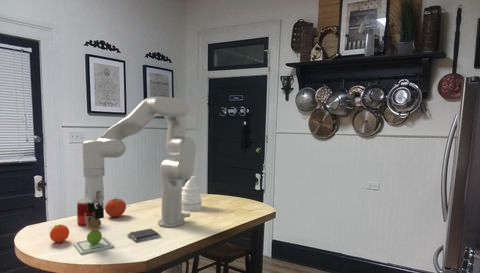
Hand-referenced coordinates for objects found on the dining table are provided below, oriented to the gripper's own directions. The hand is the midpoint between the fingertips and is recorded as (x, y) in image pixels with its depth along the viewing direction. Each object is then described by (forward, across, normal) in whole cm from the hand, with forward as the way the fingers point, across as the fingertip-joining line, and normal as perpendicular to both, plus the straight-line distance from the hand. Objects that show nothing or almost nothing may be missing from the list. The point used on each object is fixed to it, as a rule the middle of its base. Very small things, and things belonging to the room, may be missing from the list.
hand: (95, 215), depth 127 cm
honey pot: (+15, -29, +59) cm, 67 cm away
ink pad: (+13, +1, +19) cm, 23 cm away
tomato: (+13, -36, +19) cm, 42 cm away
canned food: (+13, -32, +4) cm, 34 cm away
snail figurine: (+11, 0, -1) cm, 11 cm away
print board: (+12, 0, -1) cm, 12 cm away
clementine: (+12, -13, -11) cm, 21 cm away
